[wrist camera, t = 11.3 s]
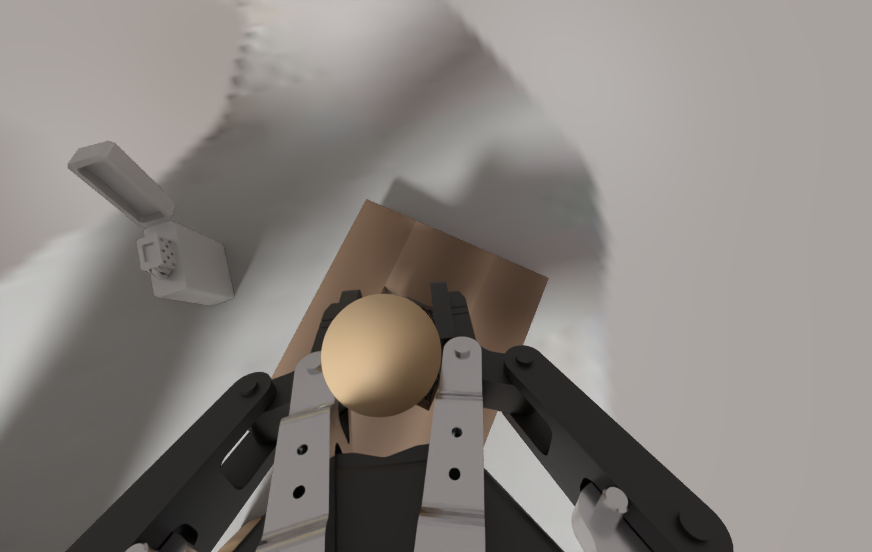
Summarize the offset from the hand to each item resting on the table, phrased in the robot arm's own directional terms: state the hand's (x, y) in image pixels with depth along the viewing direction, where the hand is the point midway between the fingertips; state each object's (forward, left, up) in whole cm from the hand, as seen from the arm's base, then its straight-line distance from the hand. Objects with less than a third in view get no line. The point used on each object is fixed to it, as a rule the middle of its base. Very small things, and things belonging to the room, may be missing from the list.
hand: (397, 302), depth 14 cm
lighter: (-14, -2, -7) cm, 16 cm away
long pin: (+1, -2, -4) cm, 5 cm away
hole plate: (+1, -2, -7) cm, 7 cm away
